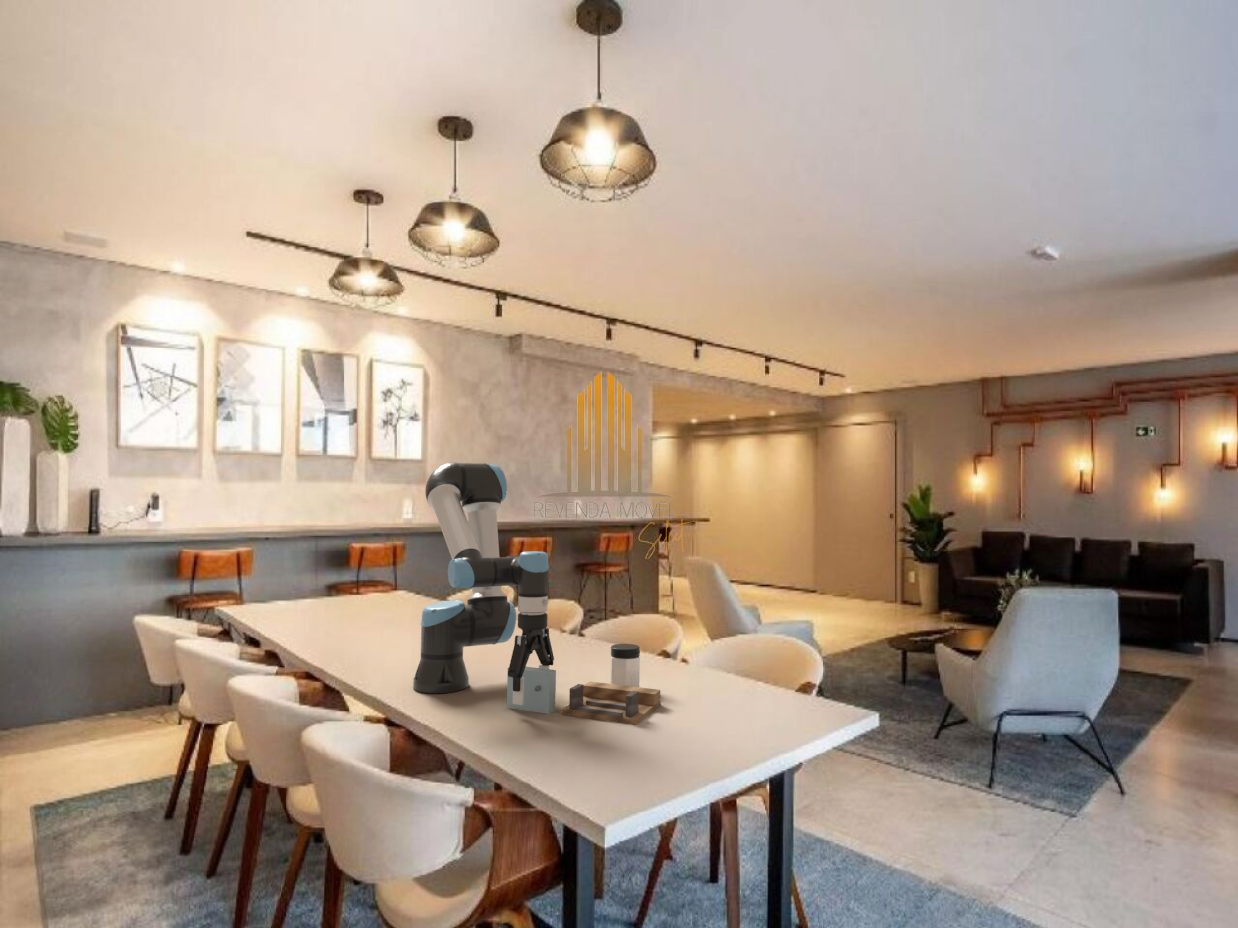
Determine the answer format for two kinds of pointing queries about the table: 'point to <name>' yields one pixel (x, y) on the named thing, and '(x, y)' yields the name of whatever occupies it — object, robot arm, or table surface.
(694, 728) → the table surface
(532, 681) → the door
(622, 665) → the jar
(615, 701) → the brown piece
